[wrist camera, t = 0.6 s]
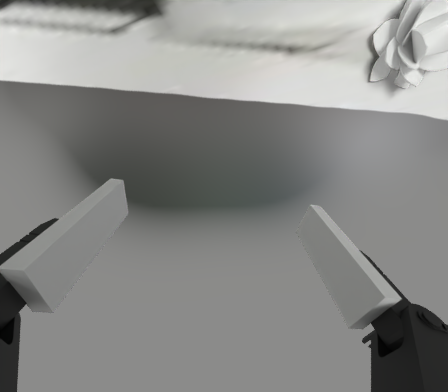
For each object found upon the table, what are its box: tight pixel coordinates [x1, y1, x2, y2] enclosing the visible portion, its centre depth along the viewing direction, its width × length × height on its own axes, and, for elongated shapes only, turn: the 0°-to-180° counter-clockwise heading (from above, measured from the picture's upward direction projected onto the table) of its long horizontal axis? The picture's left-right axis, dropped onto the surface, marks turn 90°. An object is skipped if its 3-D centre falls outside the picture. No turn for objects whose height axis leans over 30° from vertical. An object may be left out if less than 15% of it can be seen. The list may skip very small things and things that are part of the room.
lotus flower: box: [370, 0, 448, 88], centre depth 26 cm, size 14×15×9 cm
